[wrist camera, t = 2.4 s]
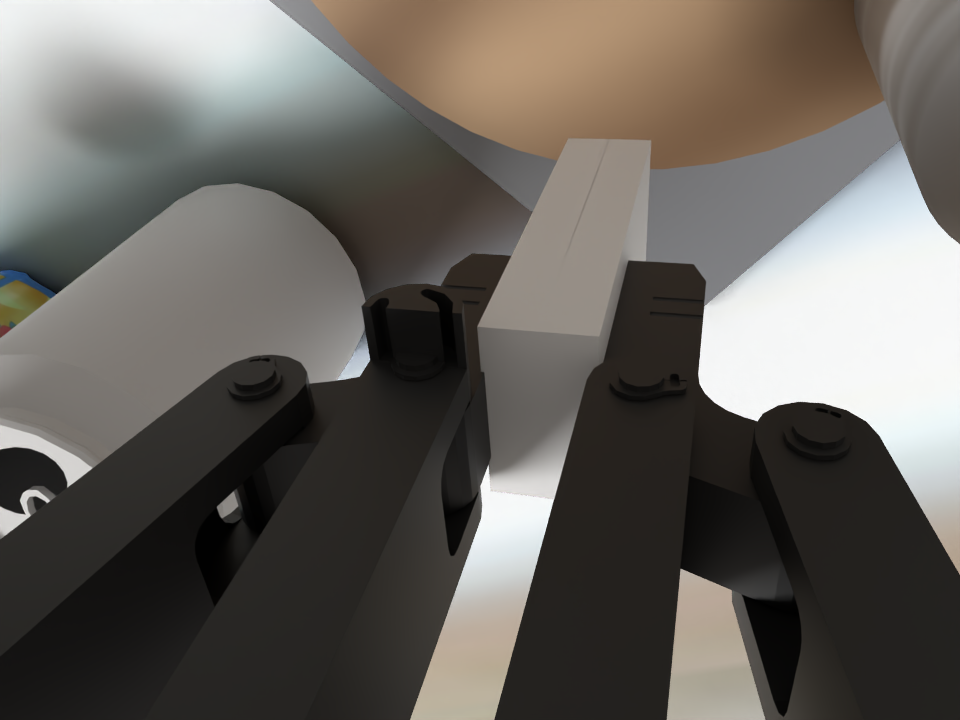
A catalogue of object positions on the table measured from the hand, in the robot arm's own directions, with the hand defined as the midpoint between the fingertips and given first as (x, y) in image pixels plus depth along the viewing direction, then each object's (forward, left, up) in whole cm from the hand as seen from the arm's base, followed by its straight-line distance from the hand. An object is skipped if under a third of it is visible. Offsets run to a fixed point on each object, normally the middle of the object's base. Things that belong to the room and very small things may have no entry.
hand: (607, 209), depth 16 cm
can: (-5, -13, -8) cm, 16 cm away
